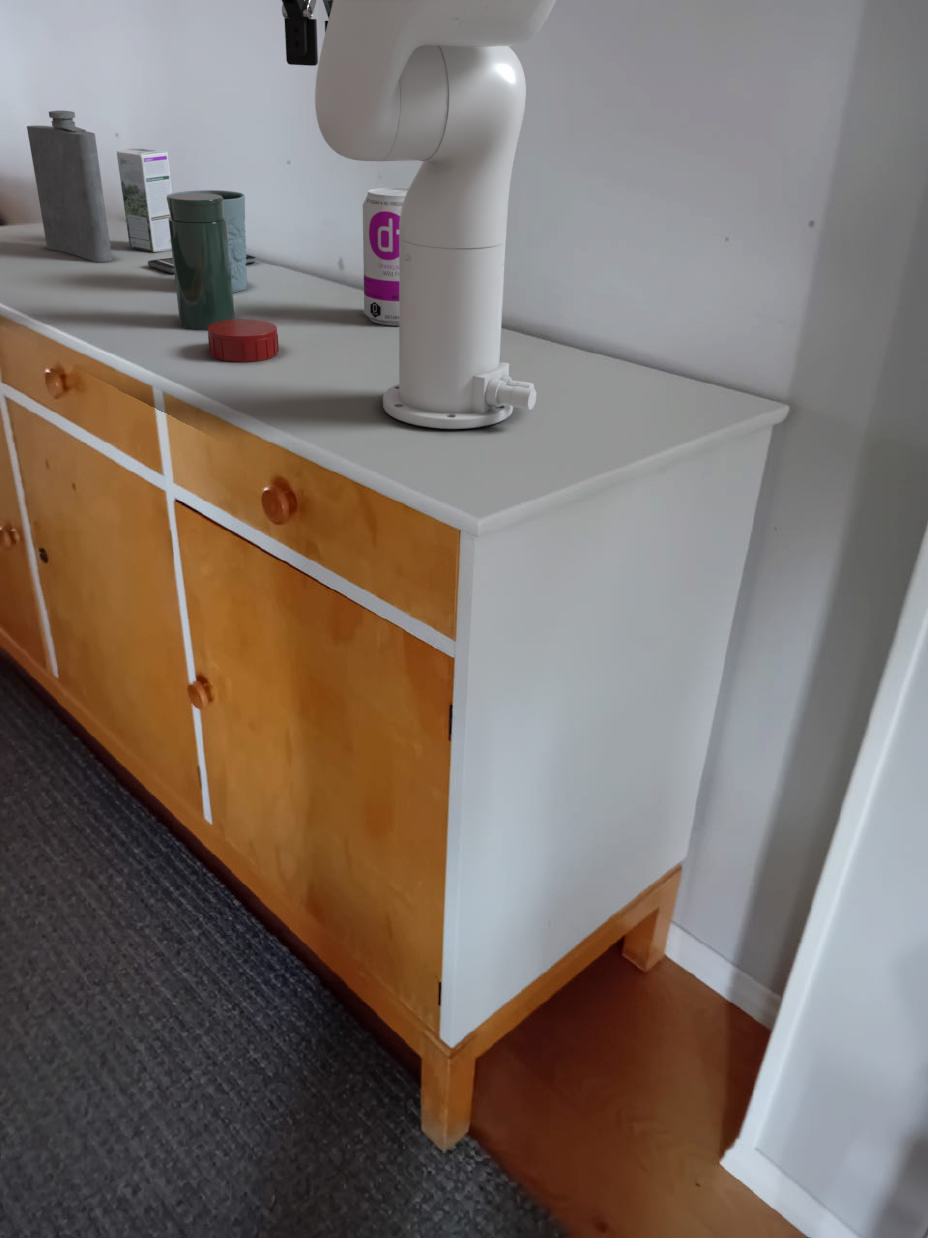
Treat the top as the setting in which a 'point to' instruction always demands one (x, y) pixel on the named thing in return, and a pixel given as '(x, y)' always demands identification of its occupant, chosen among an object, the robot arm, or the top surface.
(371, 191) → the supplement can
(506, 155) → the robot arm
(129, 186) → the syrup box
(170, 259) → the smartphone
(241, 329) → the lid
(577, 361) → the top surface
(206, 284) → the jar
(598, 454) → the top surface
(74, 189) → the hip flask
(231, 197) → the embossed blue cup
